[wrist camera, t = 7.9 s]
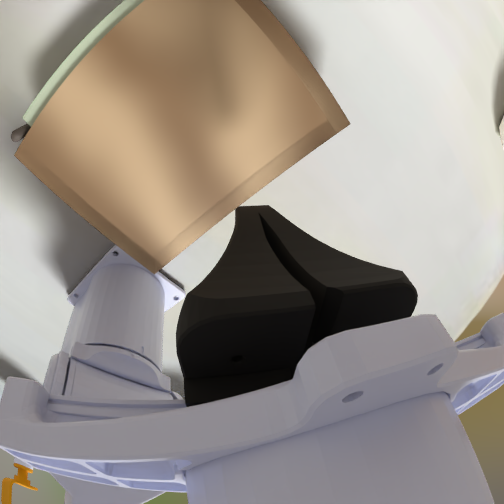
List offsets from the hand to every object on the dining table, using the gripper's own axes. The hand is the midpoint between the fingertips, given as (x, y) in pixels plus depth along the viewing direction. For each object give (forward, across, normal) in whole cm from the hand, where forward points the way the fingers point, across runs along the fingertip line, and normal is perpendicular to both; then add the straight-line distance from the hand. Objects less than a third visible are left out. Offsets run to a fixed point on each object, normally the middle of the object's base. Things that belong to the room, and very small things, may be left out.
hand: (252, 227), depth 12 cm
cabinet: (+10, +4, -3) cm, 11 cm away
